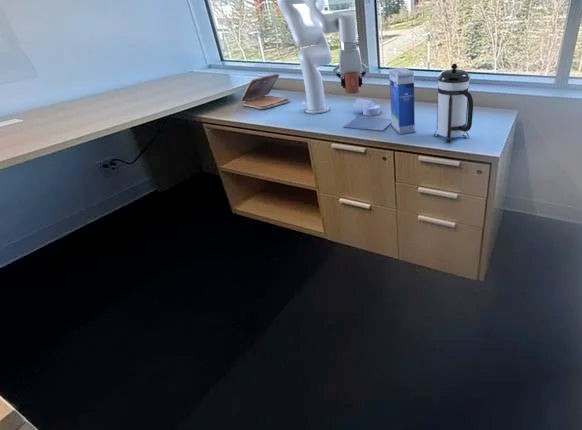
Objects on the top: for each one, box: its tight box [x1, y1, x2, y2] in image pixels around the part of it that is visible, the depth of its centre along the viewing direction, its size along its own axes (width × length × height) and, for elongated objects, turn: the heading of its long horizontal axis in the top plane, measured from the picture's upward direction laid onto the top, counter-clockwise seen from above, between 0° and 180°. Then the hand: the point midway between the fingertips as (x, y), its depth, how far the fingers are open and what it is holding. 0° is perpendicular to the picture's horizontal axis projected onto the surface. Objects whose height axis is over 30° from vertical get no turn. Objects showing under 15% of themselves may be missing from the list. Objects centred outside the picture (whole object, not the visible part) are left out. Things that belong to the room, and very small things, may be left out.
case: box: [240, 73, 290, 110], centre depth 217 cm, size 20×21×16 cm
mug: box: [343, 72, 361, 95], centre depth 174 cm, size 10×7×9 cm
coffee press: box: [433, 63, 474, 143], centre depth 155 cm, size 17×16×30 cm
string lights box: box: [388, 66, 416, 135], centre depth 168 cm, size 13×8×26 cm, turn 17°
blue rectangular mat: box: [343, 116, 392, 132], centre depth 183 cm, size 20×16×1 cm
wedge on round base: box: [352, 97, 381, 117], centre depth 197 cm, size 9×7×13 cm
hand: (352, 86), depth 177 cm, fingers closed on mug, 7 cm apart
